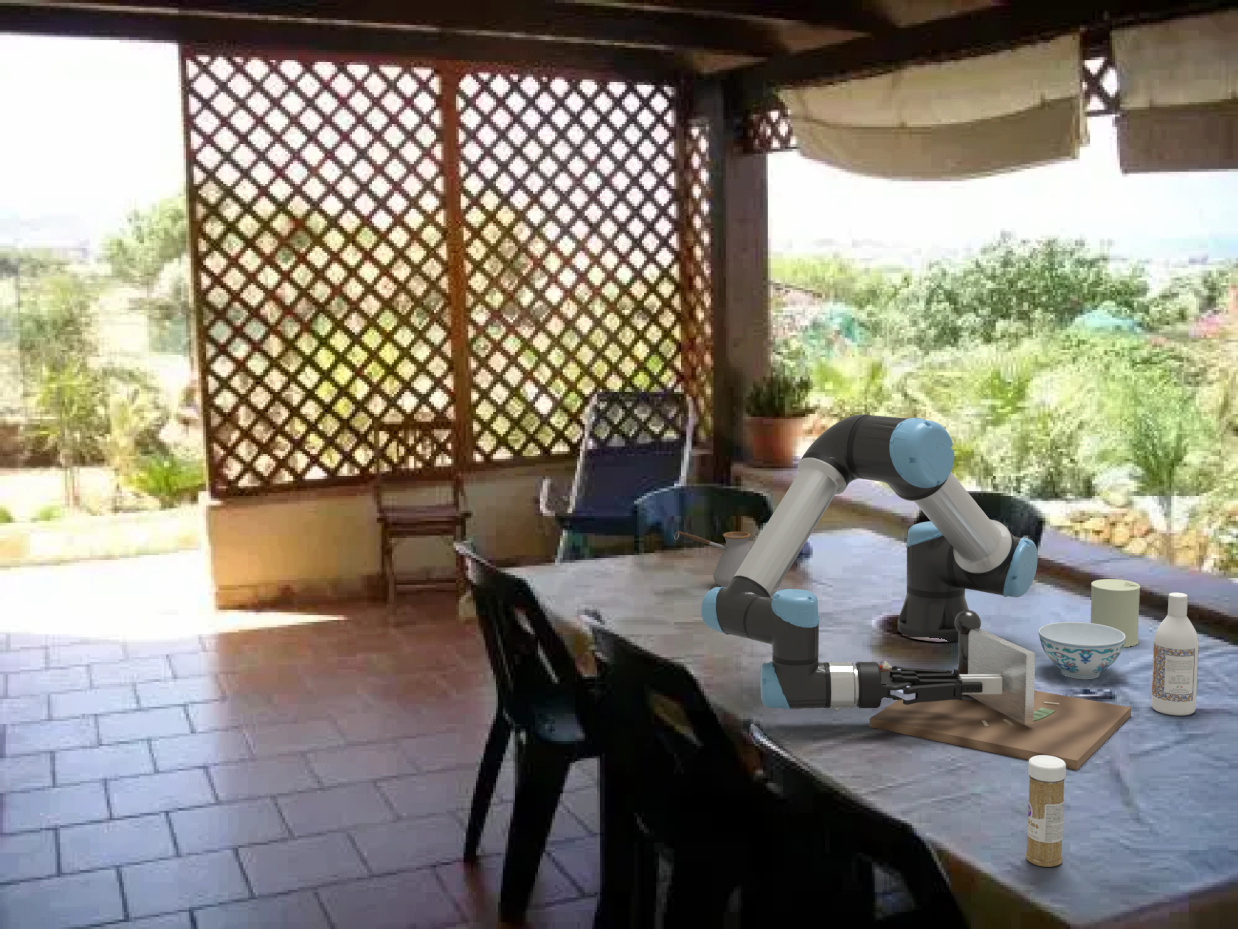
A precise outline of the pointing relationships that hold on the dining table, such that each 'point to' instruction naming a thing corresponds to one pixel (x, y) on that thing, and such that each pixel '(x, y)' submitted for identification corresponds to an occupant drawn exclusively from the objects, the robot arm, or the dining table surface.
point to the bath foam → (1175, 661)
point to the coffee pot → (726, 554)
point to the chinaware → (1081, 647)
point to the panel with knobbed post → (997, 667)
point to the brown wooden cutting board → (1011, 726)
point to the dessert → (885, 667)
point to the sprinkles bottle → (1045, 810)
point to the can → (1116, 607)
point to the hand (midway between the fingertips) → (1000, 684)
